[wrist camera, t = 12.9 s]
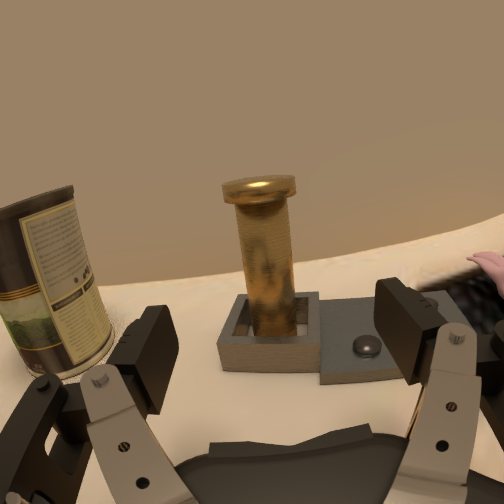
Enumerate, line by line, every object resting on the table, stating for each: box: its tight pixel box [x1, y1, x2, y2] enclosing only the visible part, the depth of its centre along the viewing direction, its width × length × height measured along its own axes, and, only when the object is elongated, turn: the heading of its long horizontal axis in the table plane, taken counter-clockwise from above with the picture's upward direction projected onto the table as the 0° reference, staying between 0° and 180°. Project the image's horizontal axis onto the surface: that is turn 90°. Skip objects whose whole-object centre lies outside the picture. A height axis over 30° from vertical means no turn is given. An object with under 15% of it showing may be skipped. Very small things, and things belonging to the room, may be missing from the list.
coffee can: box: [0, 185, 115, 380], centre depth 20 cm, size 10×10×14 cm
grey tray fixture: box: [216, 290, 477, 385], centre depth 20 cm, size 19×9×2 cm, turn 80°
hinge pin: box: [222, 175, 297, 336], centre depth 19 cm, size 4×4×12 cm
